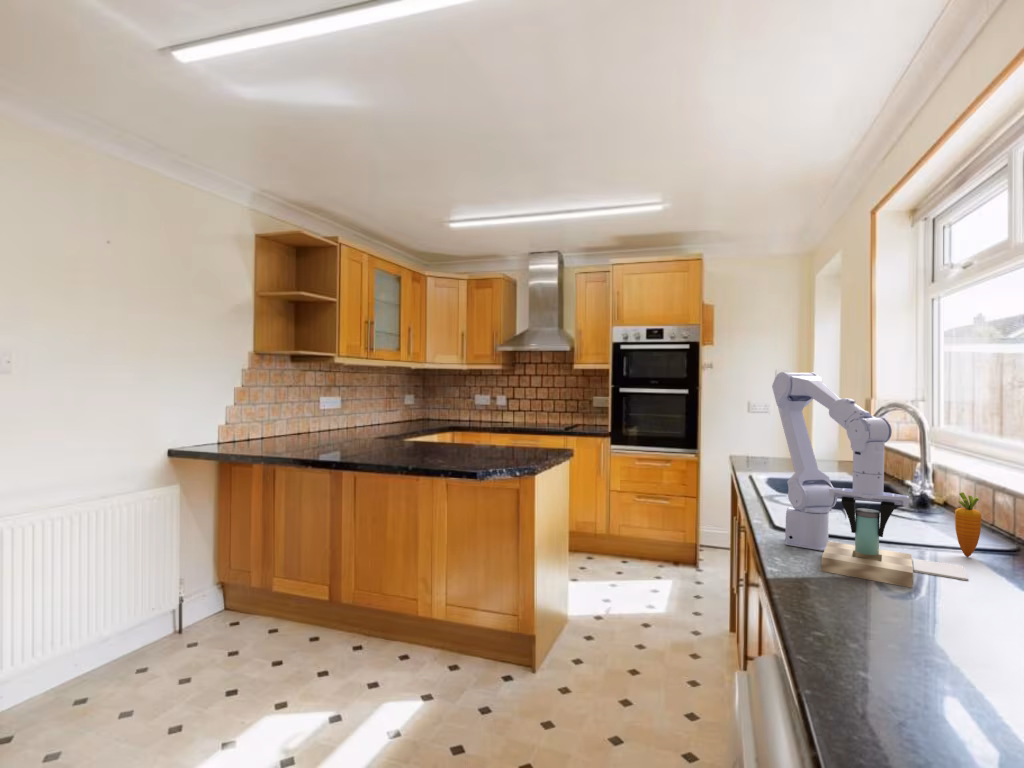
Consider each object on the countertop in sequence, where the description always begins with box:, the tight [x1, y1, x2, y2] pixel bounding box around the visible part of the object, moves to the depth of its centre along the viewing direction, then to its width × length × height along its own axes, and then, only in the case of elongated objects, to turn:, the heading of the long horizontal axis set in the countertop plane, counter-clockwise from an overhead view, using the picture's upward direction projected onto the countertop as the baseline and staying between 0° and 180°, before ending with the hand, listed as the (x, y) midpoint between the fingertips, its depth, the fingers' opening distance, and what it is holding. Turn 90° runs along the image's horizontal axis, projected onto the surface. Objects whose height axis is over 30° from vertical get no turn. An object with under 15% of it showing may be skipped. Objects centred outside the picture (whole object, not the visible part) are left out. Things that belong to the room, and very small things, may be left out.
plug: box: [854, 507, 880, 555], centre depth 119 cm, size 4×4×9 cm
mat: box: [912, 557, 969, 582], centre depth 119 cm, size 9×9×1 cm
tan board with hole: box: [821, 540, 914, 589], centre depth 119 cm, size 16×14×3 cm
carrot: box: [954, 491, 982, 558], centre depth 128 cm, size 5×5×15 cm
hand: (867, 533), depth 119 cm, fingers closed on plug, 4 cm apart
